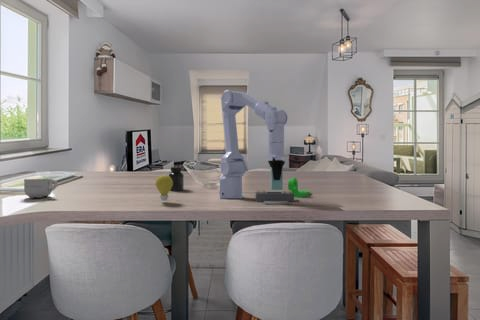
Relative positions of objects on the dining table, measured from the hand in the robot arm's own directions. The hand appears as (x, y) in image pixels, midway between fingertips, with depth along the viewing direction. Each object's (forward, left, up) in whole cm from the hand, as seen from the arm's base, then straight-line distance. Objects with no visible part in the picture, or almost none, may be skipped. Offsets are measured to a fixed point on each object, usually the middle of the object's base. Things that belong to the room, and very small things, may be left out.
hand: (276, 179), depth 145 cm
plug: (0, 0, -3) cm, 4 cm away
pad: (0, 0, -9) cm, 9 cm away
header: (0, +9, -9) cm, 12 cm away
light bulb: (-43, +10, -9) cm, 45 cm away
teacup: (-97, +21, -9) cm, 99 cm away
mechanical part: (+13, +25, -9) cm, 29 cm away
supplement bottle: (-43, +39, -9) cm, 59 cm away
